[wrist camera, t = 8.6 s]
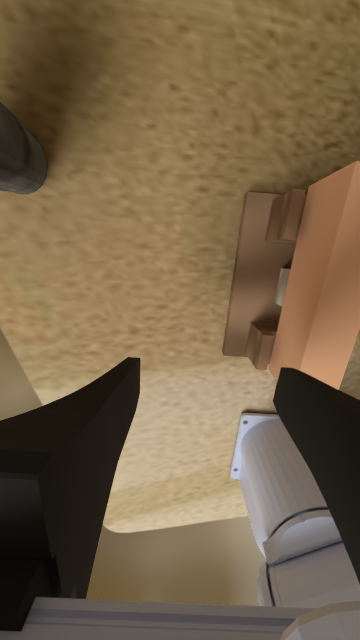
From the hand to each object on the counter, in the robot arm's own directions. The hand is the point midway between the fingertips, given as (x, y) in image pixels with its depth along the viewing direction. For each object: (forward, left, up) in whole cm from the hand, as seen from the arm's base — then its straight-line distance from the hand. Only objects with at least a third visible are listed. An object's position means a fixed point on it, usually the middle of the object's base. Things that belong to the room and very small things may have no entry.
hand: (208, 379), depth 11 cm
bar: (+4, -8, -7) cm, 11 cm away
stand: (+4, -8, -10) cm, 13 cm away
